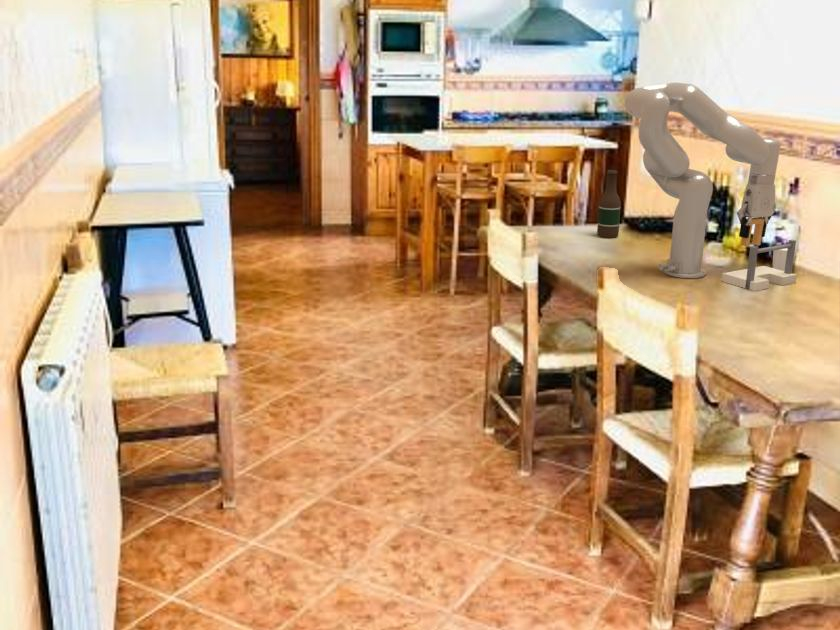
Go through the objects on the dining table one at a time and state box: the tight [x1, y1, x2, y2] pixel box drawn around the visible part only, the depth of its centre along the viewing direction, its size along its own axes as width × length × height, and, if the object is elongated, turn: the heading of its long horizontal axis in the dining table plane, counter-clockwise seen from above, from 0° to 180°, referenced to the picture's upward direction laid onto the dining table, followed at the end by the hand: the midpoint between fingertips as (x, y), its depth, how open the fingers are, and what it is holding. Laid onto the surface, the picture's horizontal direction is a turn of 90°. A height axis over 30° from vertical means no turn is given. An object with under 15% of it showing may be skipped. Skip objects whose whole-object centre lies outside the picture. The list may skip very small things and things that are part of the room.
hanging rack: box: [721, 239, 798, 292], centre depth 262 cm, size 18×12×12 cm, turn 120°
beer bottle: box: [596, 169, 621, 240], centre depth 318 cm, size 8×8×24 cm
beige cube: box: [772, 247, 798, 271], centre depth 277 cm, size 7×7×7 cm
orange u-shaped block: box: [740, 217, 764, 247], centre depth 276 cm, size 2×7×8 cm, turn 120°
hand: (751, 236), depth 276 cm, fingers closed on orange u-shaped block, 6 cm apart
